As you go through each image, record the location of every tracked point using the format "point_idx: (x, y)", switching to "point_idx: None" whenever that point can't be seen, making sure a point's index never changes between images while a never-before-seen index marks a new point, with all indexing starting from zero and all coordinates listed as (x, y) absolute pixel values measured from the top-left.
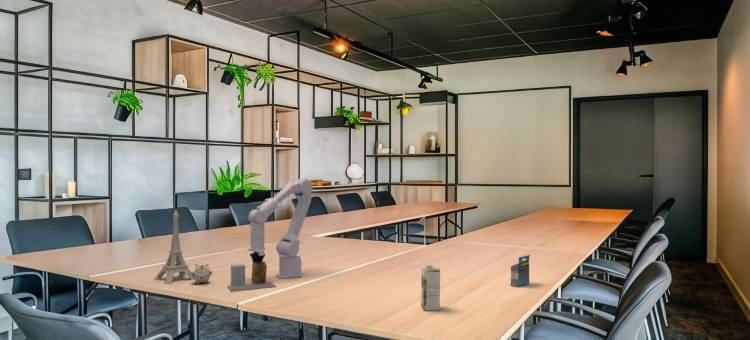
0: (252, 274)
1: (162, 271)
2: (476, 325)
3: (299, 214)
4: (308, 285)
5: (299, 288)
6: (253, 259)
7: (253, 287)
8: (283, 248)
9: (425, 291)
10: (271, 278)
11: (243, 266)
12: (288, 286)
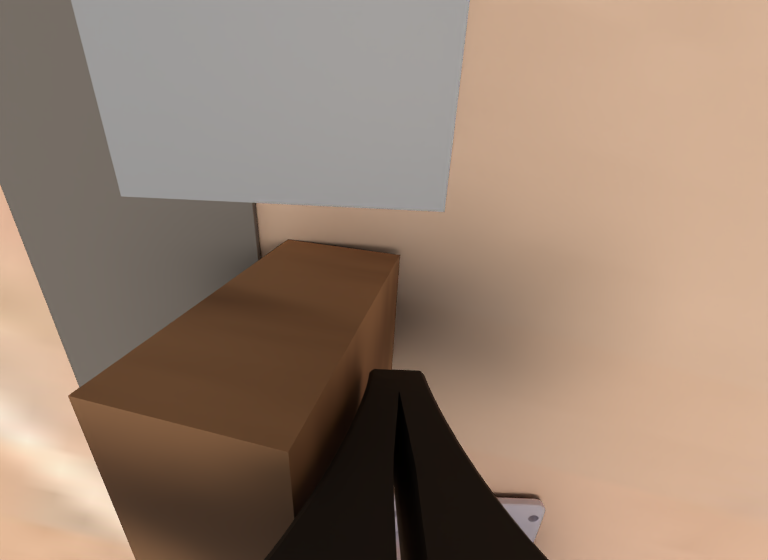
0: (335, 290)
1: None
2: None
3: None
4: (96, 555)
5: (3, 496)
6: (297, 553)
7: (57, 179)
8: None
9: None
10: (460, 441)
11: (120, 132)
12: (90, 460)
